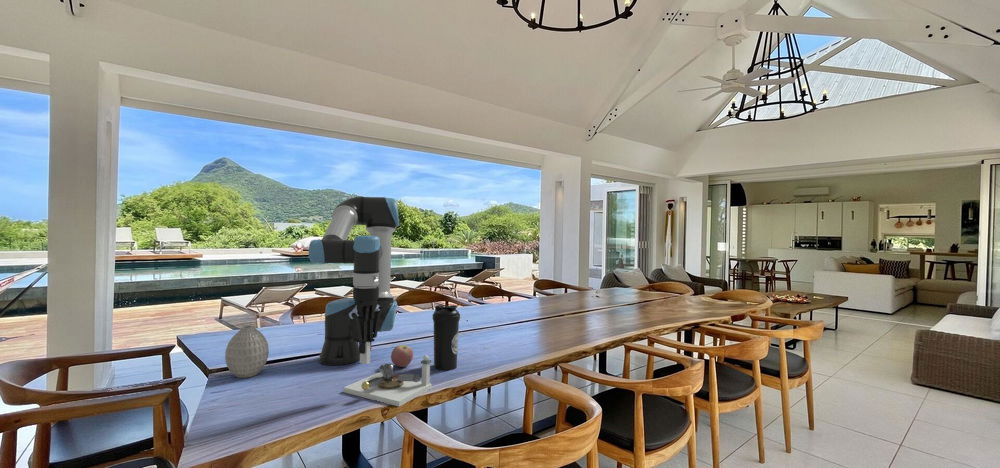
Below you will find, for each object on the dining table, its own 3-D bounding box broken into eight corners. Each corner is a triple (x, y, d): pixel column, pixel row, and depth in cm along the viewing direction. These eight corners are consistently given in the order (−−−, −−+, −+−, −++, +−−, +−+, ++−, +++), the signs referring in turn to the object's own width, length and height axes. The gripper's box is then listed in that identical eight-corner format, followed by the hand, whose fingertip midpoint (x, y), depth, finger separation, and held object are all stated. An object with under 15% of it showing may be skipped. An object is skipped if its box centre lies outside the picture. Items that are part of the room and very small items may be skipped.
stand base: (343, 392, 131) (344, 357, 131) (379, 376, 145) (379, 345, 145) (399, 406, 121) (399, 369, 121) (431, 388, 136) (432, 354, 135)
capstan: (382, 402, 120) (383, 380, 120) (342, 388, 130) (343, 367, 130) (421, 385, 133) (422, 365, 133) (383, 374, 143) (383, 355, 143)
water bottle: (454, 372, 151) (455, 308, 151) (427, 369, 153) (428, 307, 153) (462, 363, 161) (463, 304, 161) (437, 361, 163) (438, 302, 163)
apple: (393, 371, 151) (393, 349, 151) (388, 365, 158) (389, 343, 158) (415, 368, 155) (415, 346, 154) (409, 362, 161) (410, 341, 161)
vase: (276, 371, 148) (277, 324, 148) (244, 383, 136) (244, 332, 136) (249, 366, 152) (250, 321, 152) (215, 378, 140) (216, 328, 140)
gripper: (359, 290, 120) (358, 371, 121) (390, 284, 132) (389, 358, 133) (340, 288, 123) (339, 367, 124) (372, 282, 135) (370, 354, 136)
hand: (365, 362), depth 128 cm, fingers closed
